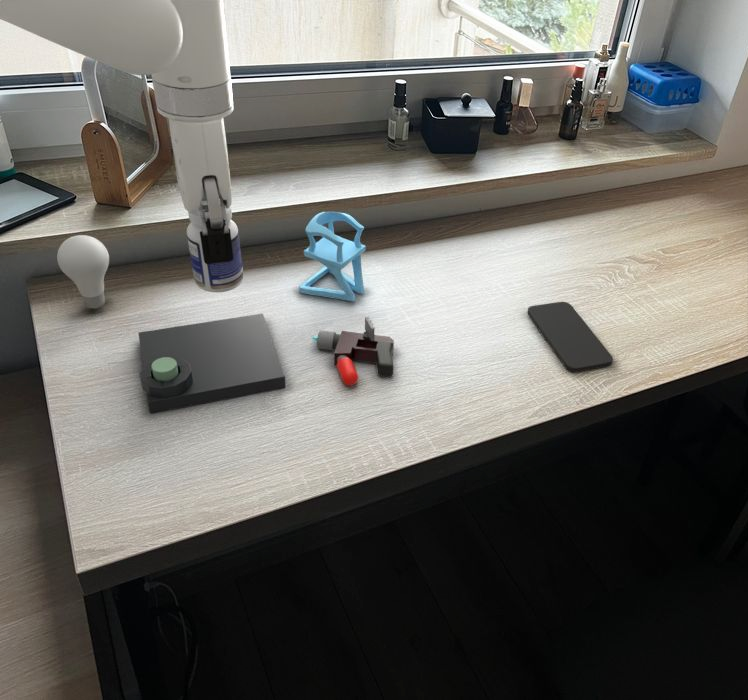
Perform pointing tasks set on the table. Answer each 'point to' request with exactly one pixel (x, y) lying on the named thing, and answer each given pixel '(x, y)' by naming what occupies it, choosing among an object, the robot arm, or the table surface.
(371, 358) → the toy gun
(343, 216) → the chair
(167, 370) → the button
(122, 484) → the table surface
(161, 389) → the dark grey button base
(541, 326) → the phone
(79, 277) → the lightbulb
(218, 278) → the pill bottle
